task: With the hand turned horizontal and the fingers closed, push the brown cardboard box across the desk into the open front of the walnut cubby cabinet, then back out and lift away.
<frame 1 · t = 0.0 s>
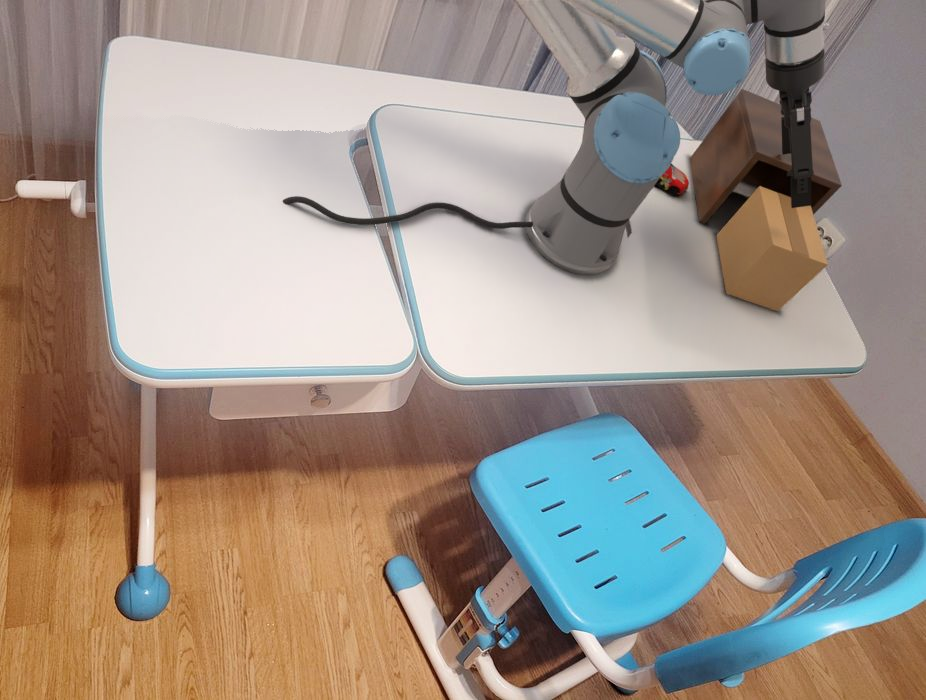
hand: (796, 178, 119), 17 cm above the table, tool tilted 40°, fingers open, 13 cm apart
cabinet: (732, 205, 141), on the table
race car: (651, 177, 137), on the table
box: (746, 272, 130), on the table
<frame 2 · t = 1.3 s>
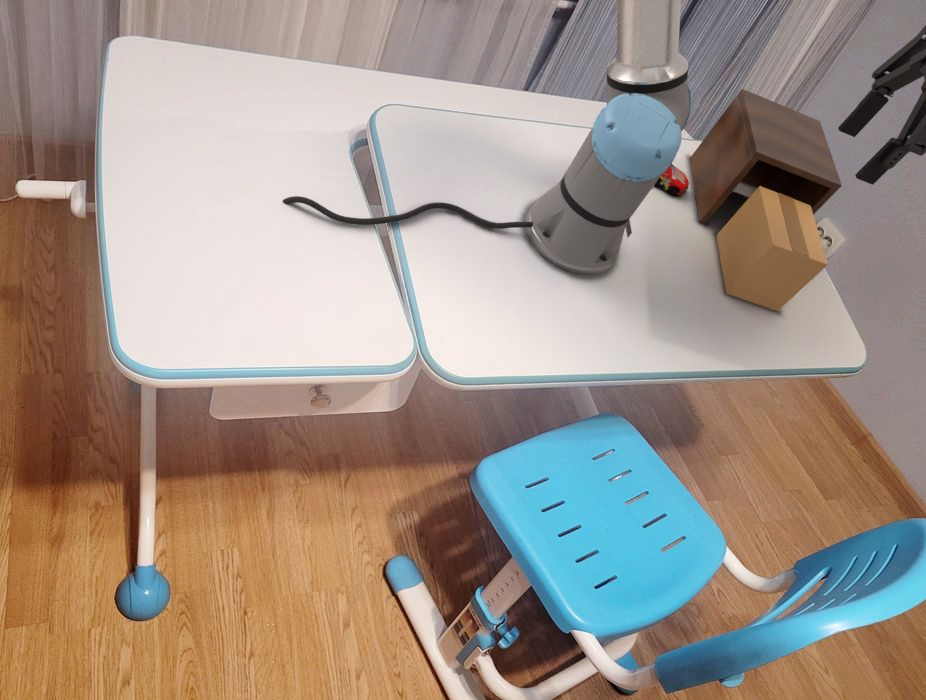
hand: (854, 155, 106), 28 cm above the table, tool pointing down, fingers open, 10 cm apart
nothing on the table moved.
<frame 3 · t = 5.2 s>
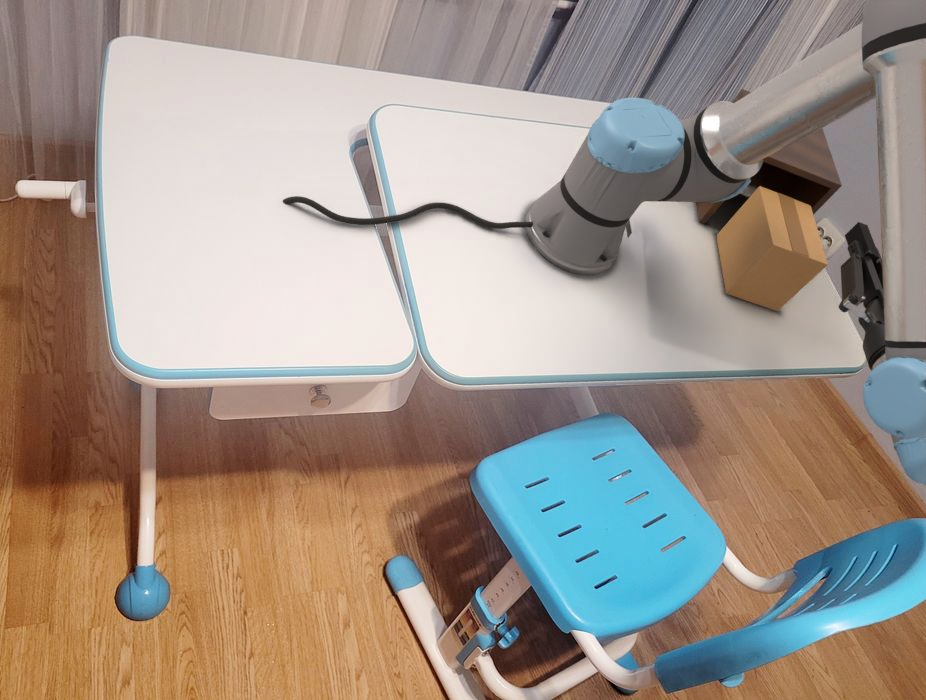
hand: (855, 230, 106), 22 cm above the table, tool horizontal, fingers closed
nothing on the table moved.
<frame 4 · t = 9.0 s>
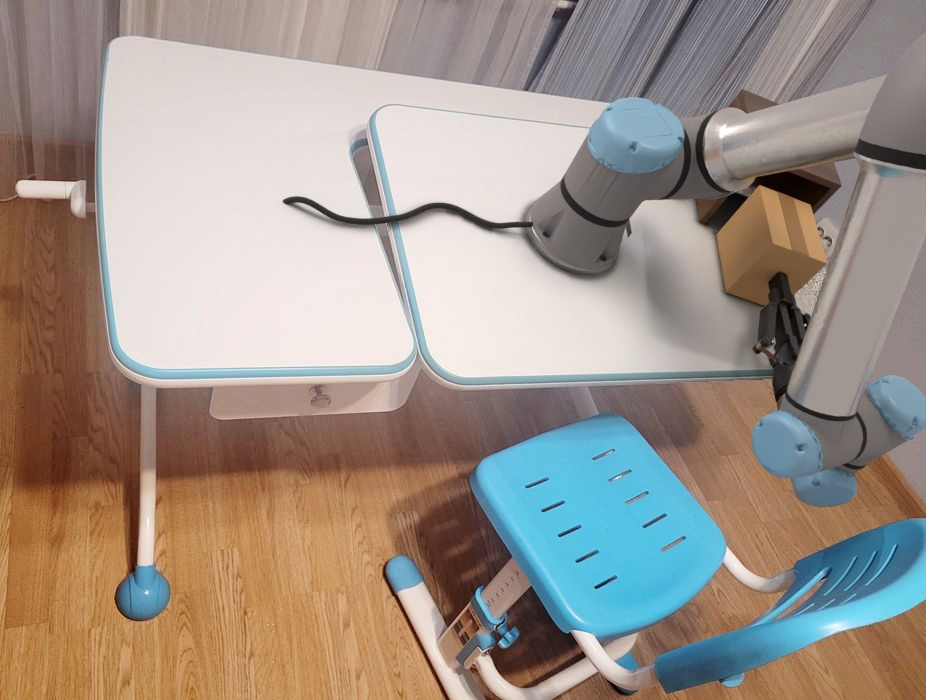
hand: (777, 278, 121), 6 cm above the table, tool horizontal, fingers closed
box: (746, 271, 130), on the table, touching gripper
everything else where it was.
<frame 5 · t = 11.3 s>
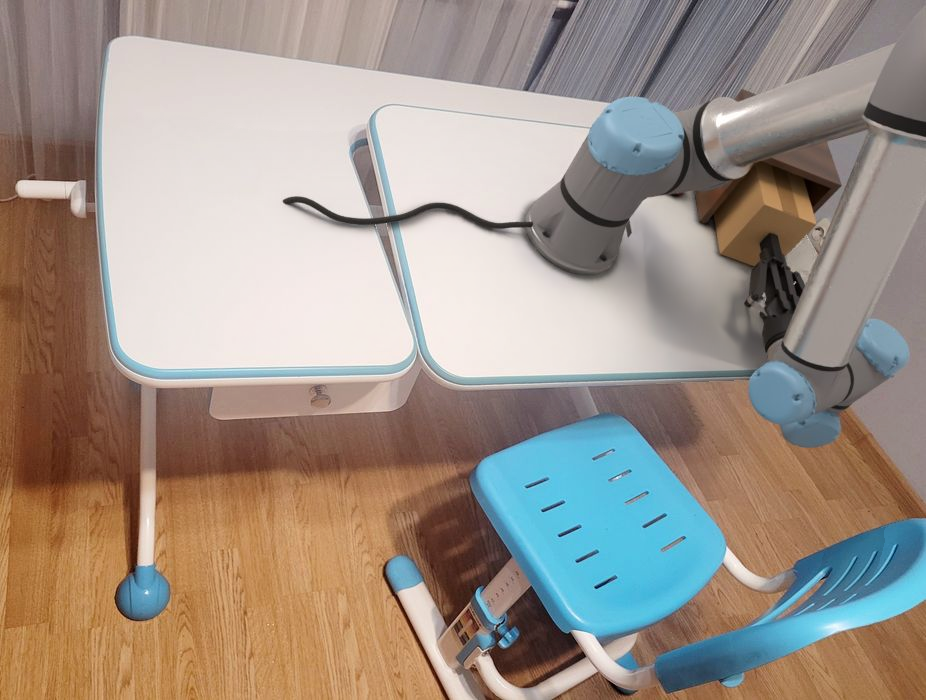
hand: (768, 239, 127), 6 cm above the table, tool horizontal, fingers closed
box: (739, 235, 136), on the table, touching gripper
everything else where it was.
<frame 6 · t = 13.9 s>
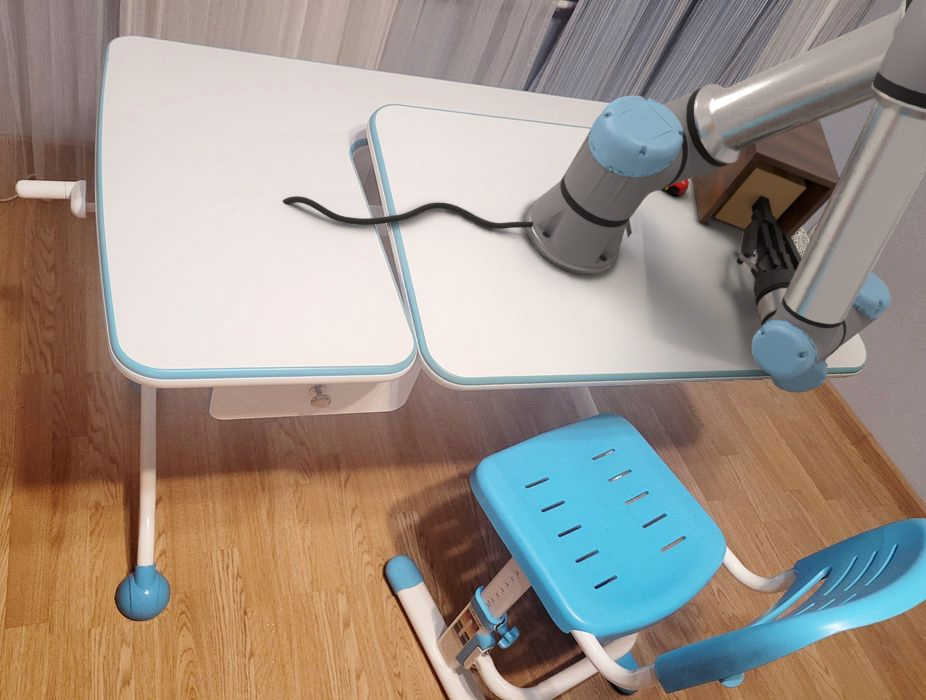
hand: (760, 202, 132), 6 cm above the table, tool horizontal, fingers closed
box: (733, 201, 142), resting in cabinet, touching gripper
everything else where it was.
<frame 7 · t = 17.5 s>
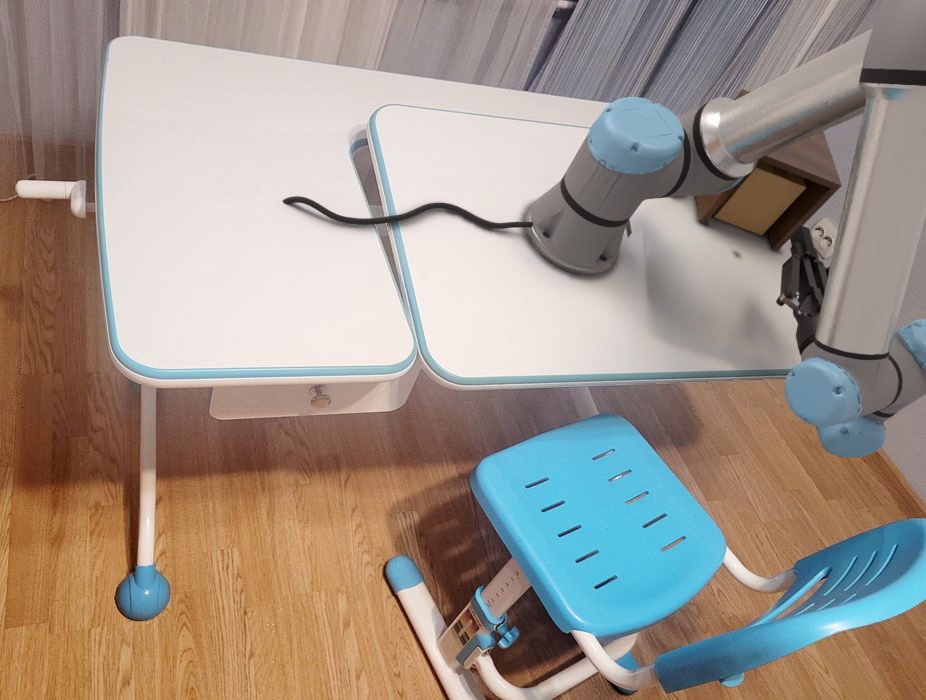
hand: (799, 232, 119), 13 cm above the table, tool horizontal, fingers closed
box: (733, 201, 142), resting in cabinet
everything else where it was.
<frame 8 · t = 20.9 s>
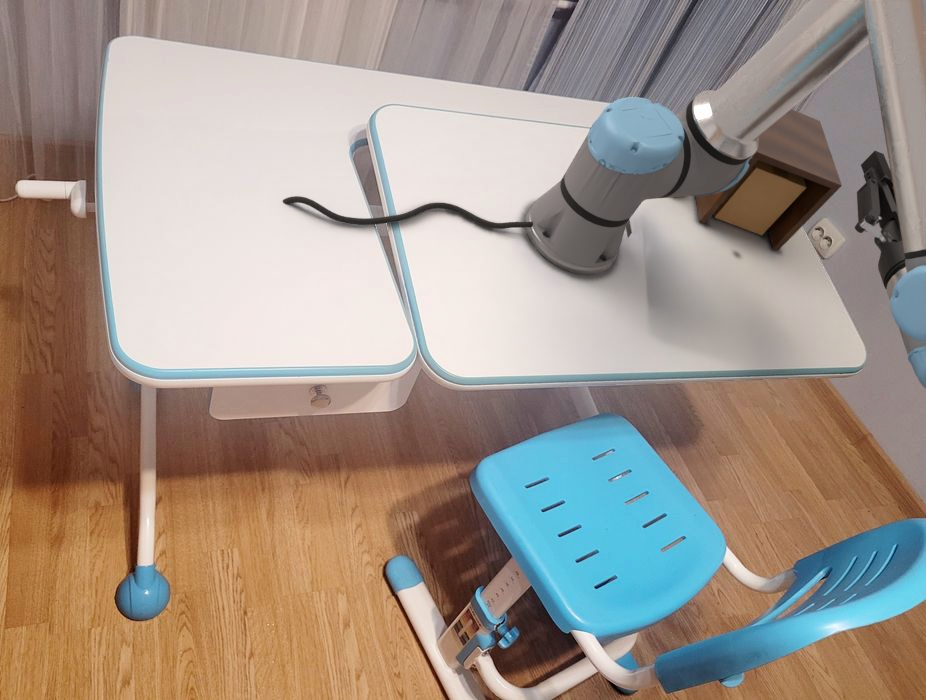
hand: (872, 159, 107), 28 cm above the table, tool horizontal, fingers closed
nothing on the table moved.
at the end: box 1.6 cm off-centre on the cabinet, point 0.0 cm above the cabinet's base; box tilted 0° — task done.
